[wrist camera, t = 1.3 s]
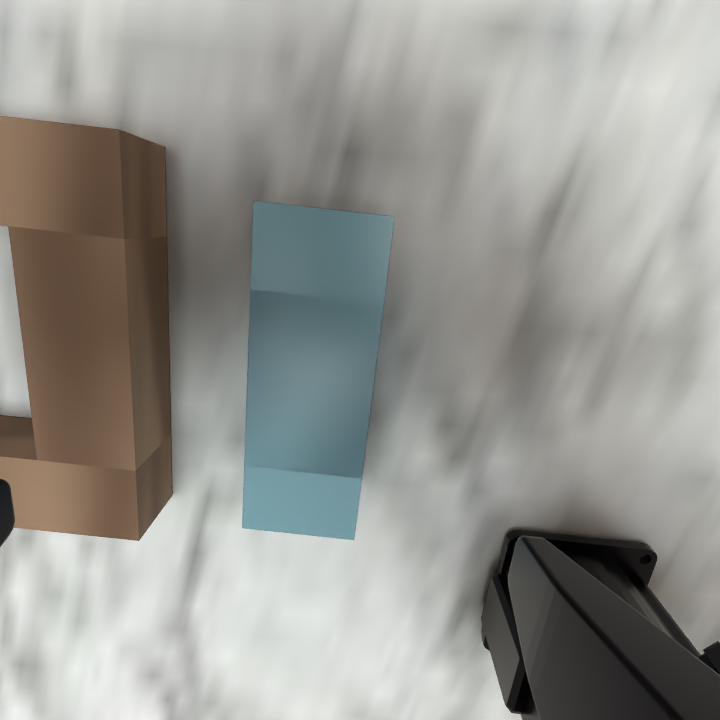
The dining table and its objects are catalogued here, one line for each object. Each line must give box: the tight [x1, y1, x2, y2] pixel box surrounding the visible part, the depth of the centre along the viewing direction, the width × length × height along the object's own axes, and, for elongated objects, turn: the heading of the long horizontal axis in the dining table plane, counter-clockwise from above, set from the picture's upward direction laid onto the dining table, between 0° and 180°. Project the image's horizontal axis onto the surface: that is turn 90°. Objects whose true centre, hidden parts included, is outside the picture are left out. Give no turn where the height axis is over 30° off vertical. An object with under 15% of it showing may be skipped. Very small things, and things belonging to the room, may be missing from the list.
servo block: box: [242, 201, 394, 540], centre depth 16 cm, size 4×11×4 cm, turn 174°
